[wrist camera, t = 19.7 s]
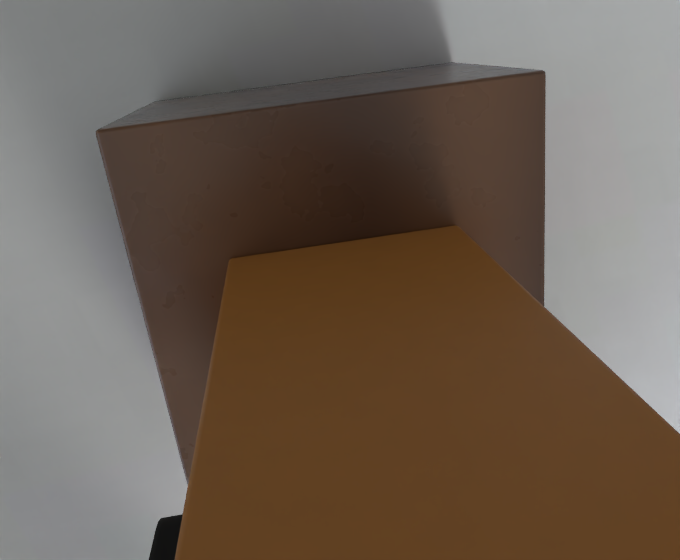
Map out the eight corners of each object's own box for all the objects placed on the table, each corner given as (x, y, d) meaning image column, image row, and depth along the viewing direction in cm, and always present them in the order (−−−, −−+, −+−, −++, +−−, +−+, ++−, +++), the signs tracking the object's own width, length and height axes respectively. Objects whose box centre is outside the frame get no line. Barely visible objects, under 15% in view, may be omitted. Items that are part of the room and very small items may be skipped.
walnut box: (233, 464, 23) (221, 617, 16) (152, 101, 18) (94, 130, 12) (471, 424, 23) (543, 558, 17) (454, 62, 18) (547, 69, 12)
